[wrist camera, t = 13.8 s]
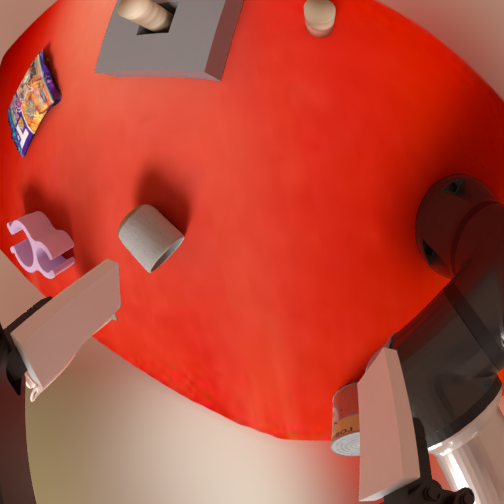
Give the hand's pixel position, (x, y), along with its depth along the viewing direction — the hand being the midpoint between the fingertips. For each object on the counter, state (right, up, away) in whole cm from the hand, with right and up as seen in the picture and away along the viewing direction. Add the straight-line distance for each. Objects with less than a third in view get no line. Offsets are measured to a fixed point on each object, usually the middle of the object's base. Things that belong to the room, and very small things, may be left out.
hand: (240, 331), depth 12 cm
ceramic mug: (-14, +6, +31) cm, 35 cm away
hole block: (-10, +36, +17) cm, 41 cm away
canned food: (+23, -27, +36) cm, 51 cm away
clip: (-46, +7, +38) cm, 60 cm away
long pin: (-11, +36, +17) cm, 41 cm away
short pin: (+9, +33, +13) cm, 37 cm away
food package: (-49, +36, +27) cm, 66 cm away
